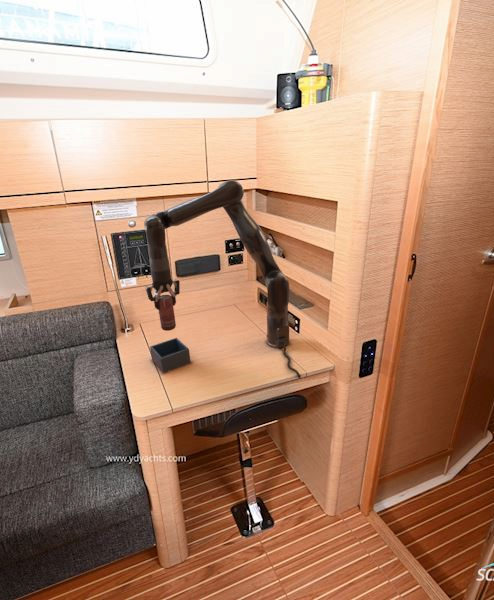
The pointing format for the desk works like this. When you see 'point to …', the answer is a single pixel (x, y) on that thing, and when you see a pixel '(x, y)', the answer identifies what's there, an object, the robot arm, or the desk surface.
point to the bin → (170, 355)
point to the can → (166, 313)
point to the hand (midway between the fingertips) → (165, 306)
